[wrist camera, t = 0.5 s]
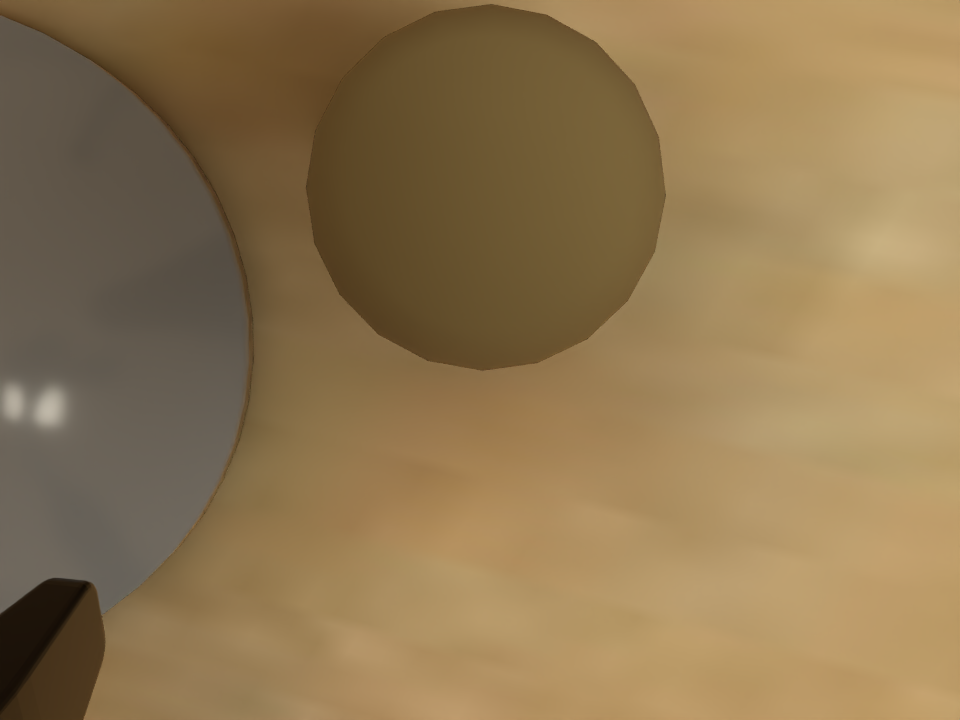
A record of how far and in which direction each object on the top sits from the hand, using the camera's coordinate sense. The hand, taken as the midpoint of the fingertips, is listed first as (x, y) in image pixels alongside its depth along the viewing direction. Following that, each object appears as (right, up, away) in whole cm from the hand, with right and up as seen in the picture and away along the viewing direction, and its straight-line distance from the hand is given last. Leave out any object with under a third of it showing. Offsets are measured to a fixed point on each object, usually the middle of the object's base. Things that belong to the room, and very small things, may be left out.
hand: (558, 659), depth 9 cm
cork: (-1, +6, +14) cm, 15 cm away
